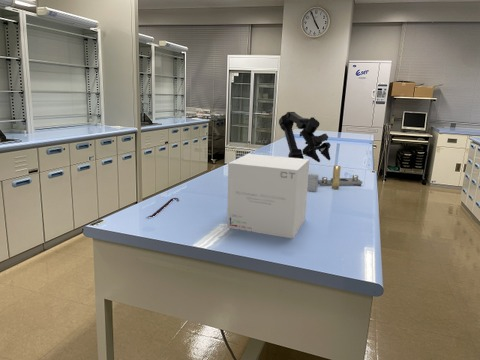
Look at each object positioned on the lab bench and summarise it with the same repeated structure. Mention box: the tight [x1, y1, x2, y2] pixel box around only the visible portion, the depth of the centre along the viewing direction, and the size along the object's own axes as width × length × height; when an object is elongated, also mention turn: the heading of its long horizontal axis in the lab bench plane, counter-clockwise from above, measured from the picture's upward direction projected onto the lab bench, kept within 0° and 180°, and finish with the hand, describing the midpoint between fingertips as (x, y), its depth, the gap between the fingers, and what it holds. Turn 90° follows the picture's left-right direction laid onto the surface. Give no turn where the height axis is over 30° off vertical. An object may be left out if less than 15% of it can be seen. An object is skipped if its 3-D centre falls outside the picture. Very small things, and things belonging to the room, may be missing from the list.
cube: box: [226, 153, 310, 239], centre depth 140 cm, size 25×21×24 cm
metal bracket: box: [318, 174, 363, 187], centre depth 204 cm, size 23×8×5 cm, turn 96°
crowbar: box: [145, 197, 180, 218], centre depth 157 cm, size 28×1×5 cm
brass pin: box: [331, 165, 341, 190], centre depth 194 cm, size 4×4×12 cm
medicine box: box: [307, 172, 319, 193], centre depth 190 cm, size 8×4×9 cm, turn 71°
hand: (324, 160), depth 198 cm, fingers open, 9 cm apart
